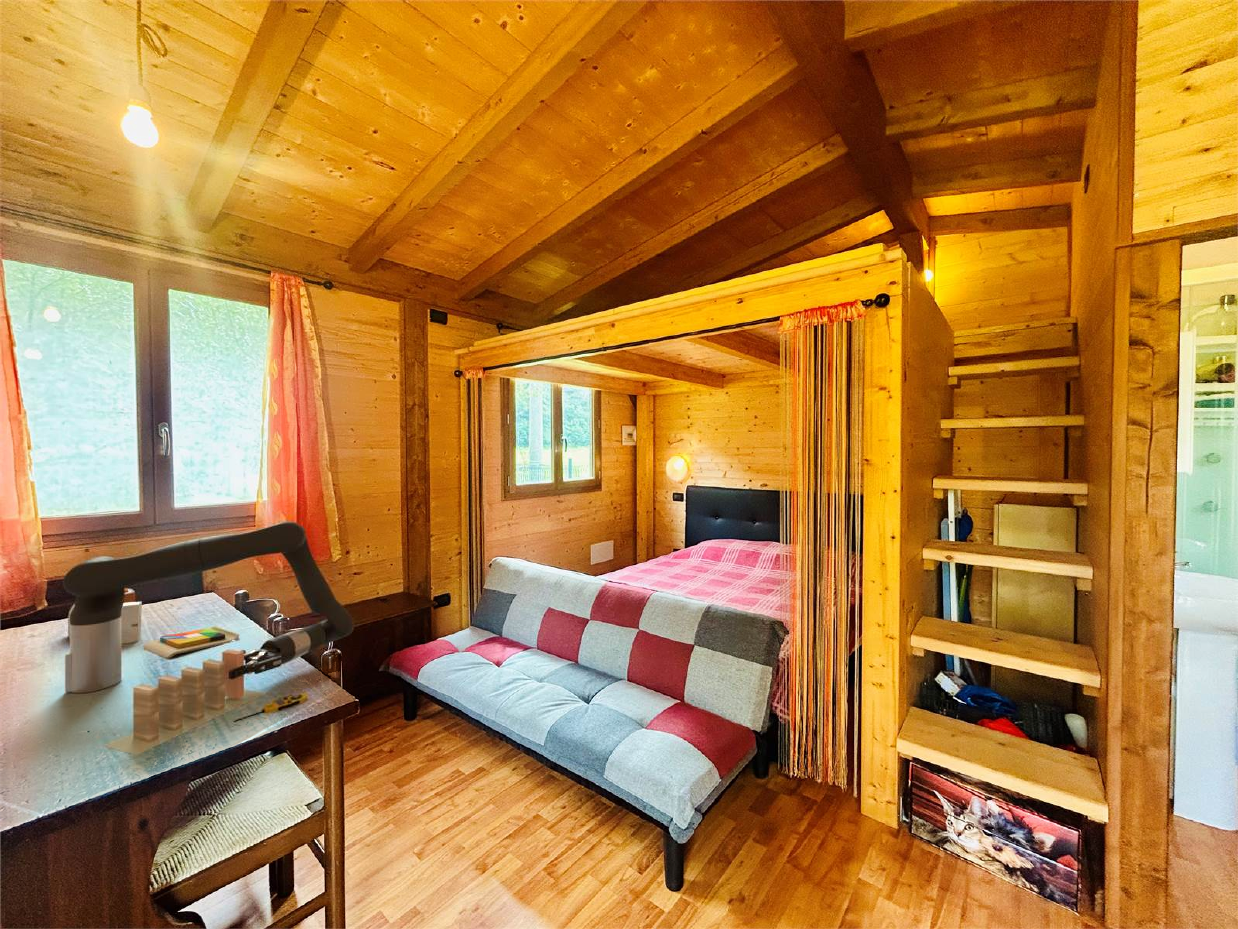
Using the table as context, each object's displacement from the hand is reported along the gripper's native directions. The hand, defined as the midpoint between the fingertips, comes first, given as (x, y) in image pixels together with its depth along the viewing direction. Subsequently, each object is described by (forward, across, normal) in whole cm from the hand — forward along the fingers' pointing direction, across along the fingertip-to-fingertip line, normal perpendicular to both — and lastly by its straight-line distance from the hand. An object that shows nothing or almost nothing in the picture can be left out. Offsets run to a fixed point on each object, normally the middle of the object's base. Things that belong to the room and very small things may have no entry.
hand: (221, 673), depth 120 cm
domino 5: (-3, 0, +7) cm, 7 cm away
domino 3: (+6, 0, +7) cm, 10 cm away
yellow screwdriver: (-2, +14, +8) cm, 16 cm away
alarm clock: (-23, -86, +8) cm, 90 cm away
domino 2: (+11, 0, +7) cm, 13 cm away
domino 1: (+15, 0, +7) cm, 17 cm away
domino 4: (+2, 0, +7) cm, 8 cm away
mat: (+6, 0, +8) cm, 10 cm away
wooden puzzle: (-25, -49, +9) cm, 56 cm away
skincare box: (-20, -70, +8) cm, 73 cm away
